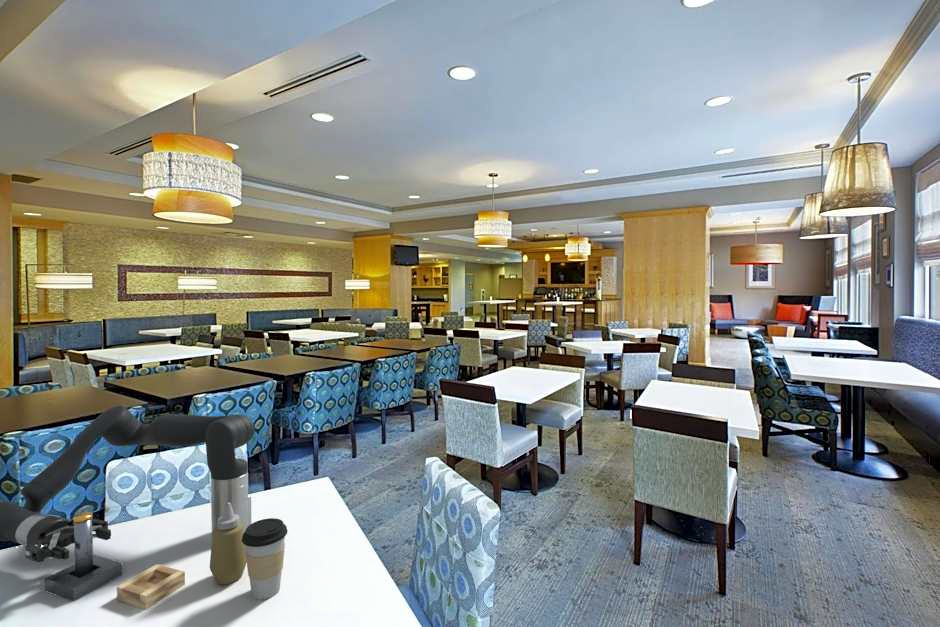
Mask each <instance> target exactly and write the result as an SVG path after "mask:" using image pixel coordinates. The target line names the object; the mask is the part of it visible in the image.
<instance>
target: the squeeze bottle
mask: <svg viewBox="0 0 940 627" xmlns="http://www.w3.org/2000/svg"><path fill="white" fill-rule="evenodd" d="M243 534H244V526H243V524H241V523H239V515H237V514H234V513H233V509H232V505H231V503H230V502H228V503H226V504H225V508H224V512H223V516H222V517H220V518H219V519H218V520H217V528H216V529H215V530H214V531H213V536H212V535H211V548H210V559H209V569H210V572H211V574H212V577H213V579H214V581H215V583H217V584H219V585H228V584H231V583H235V582H236V581H238V580H240V578H242V576H243V574H244V571H245V568H246V567H247V561H246V553H245V550H246V547H245V545H244V544H243V543H242V536H243Z"/></svg>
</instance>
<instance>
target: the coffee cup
mask: <svg viewBox="0 0 940 627" xmlns="http://www.w3.org/2000/svg"><path fill="white" fill-rule="evenodd" d="M287 535H288V526H287V525H286V524H285V523H284V521H283V520H282V519H280V518H276V517H275V518H274V517H272V518H263V519H260V520H256V521H254V522H251V525H249V526H248V527H247V528H246V531H245V532H244V534H243V536H242V543H243V544H244V545H245V547H246V550H245V553H246V561H247V563H246V568H247V576H248V577H249V585H250V593H251V596H252V598H253V599H255V600H257V599H258V600H260V601H262V600H263V599H264V600H267V598H268V599H270V598H272V597H273V596H275V595H276V593H277V592H278V591H279V592H280V589H281V583H282V582H281V581H282V572H283V568H284V560H285V559H284V557H285V548H286V546H285V545H286V543H285V540H286V539H285V538H286V536H287ZM279 592H278V593H279ZM278 593H277V594H278Z"/></svg>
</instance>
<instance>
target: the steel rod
mask: <svg viewBox="0 0 940 627" xmlns="http://www.w3.org/2000/svg"><path fill="white" fill-rule="evenodd" d="M92 519H93V512H92V511H86V512H85V511H84V512H81V513H78V514H75V515H74V516H73V517H72V523H73V524H74V545H73V546H74V564H75V577H79V578H81V577H83V576H84V575H86V574H88V573H90V572H92V571H94V570H93V555H94V543H93V542H94V541H93V539H94V538H93V536H92V534H93V531H92Z"/></svg>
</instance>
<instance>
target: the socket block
mask: <svg viewBox="0 0 940 627" xmlns="http://www.w3.org/2000/svg"><path fill="white" fill-rule="evenodd" d="M93 570H94V571H92V572H90V573H88V574H86V575H84V576H83V577H81V578H79V577H75V563H74V564H71V565H70V566H67V567H66V568H63V569H61V570H59V571H57V572H55V573H54V574H51V575H49V576H46V577H45V578H44V586H45V587H44V591H45V592H46V591H48V592H47V593H49V592H50V593H49V594H51V593H53V594H52V595H54V594H56V595H55V596H57V595H58V597H60V598H63V599H65V600H69V601H71V602H75V601H77V600H79V599H81V598H83V597H84V596H86V595H89V594H90V593H92V592H93V591H96V590H98V589H99V588H101V587H102V586H105V585H107V584H108V583H110V582H112V581H114V580H115V579H118V578H119V577H121V576H123V562H122V561H121V562H120V561H118V560H114V559H110V558H107V557H104V556H100V555H97V554H93Z"/></svg>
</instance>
